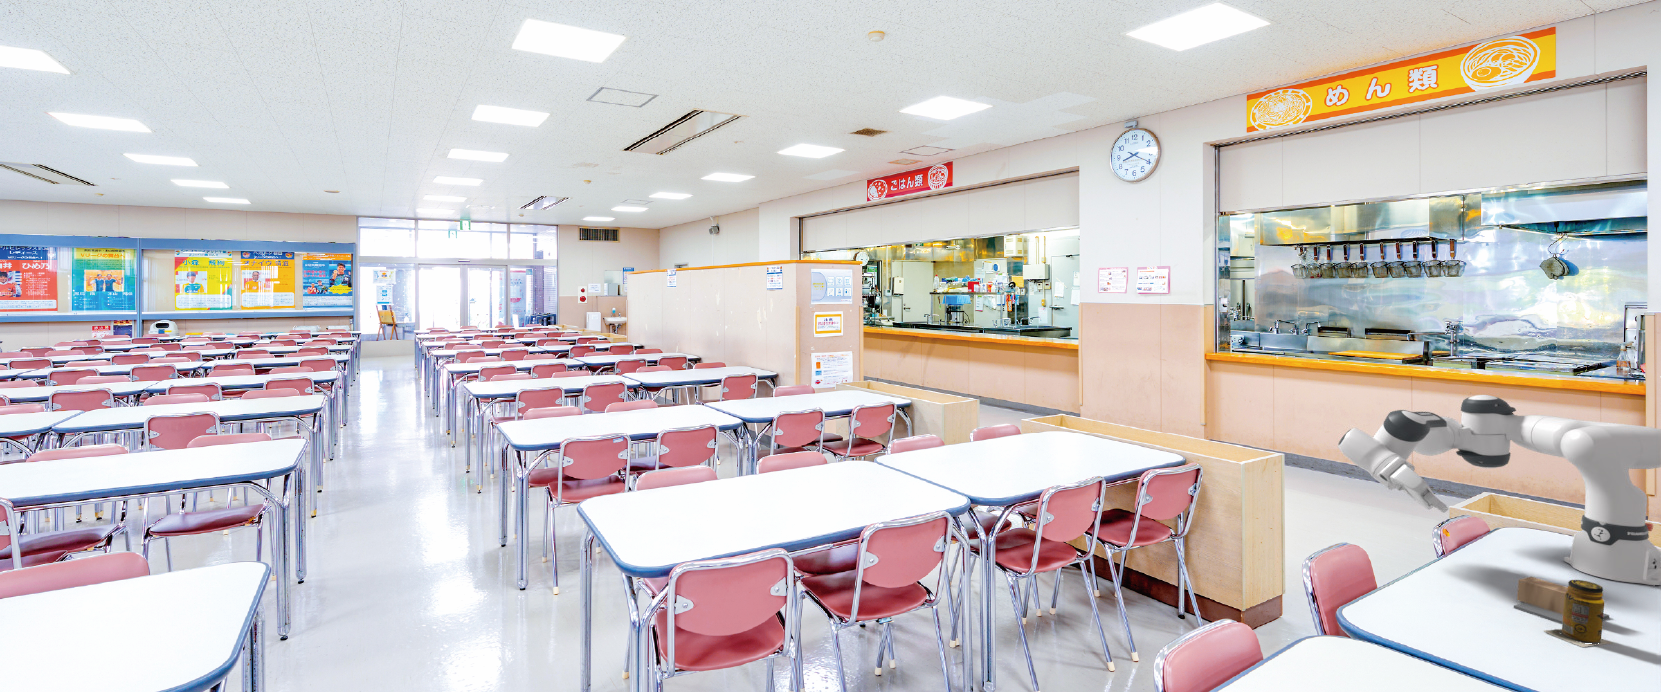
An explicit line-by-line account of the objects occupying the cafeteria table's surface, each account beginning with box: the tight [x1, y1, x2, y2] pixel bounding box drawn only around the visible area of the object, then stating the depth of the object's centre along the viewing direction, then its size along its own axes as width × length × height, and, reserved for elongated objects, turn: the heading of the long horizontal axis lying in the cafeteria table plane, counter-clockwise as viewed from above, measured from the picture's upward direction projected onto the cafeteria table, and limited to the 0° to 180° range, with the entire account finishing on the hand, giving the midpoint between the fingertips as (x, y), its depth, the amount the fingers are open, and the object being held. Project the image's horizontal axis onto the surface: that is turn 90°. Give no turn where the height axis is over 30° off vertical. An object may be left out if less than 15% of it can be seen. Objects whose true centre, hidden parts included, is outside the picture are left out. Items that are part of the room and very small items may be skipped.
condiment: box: [1543, 579, 1613, 648], centre depth 162 cm, size 7×8×12 cm
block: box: [1516, 576, 1568, 615], centre depth 175 cm, size 5×5×13 cm
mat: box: [1513, 602, 1610, 625], centre depth 174 cm, size 14×11×1 cm
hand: (1445, 509), depth 196 cm, fingers closed
